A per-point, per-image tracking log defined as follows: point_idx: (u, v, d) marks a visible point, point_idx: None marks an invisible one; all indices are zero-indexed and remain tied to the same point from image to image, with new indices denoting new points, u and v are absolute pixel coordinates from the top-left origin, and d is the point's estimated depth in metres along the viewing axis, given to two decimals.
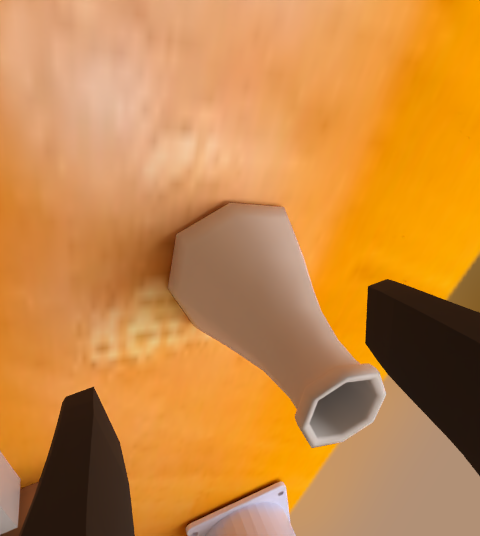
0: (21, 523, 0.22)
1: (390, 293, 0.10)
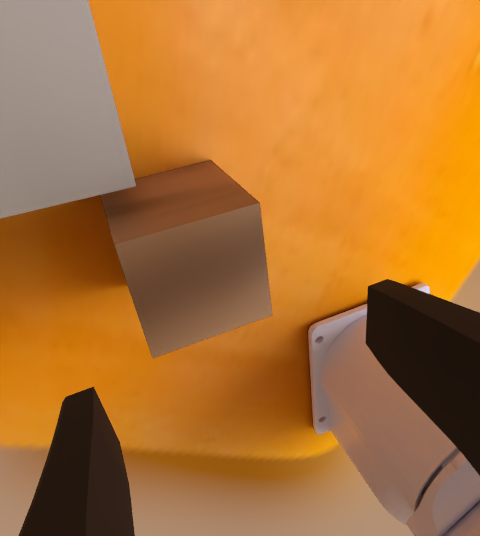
0: (135, 199, 0.15)
1: (390, 293, 0.10)
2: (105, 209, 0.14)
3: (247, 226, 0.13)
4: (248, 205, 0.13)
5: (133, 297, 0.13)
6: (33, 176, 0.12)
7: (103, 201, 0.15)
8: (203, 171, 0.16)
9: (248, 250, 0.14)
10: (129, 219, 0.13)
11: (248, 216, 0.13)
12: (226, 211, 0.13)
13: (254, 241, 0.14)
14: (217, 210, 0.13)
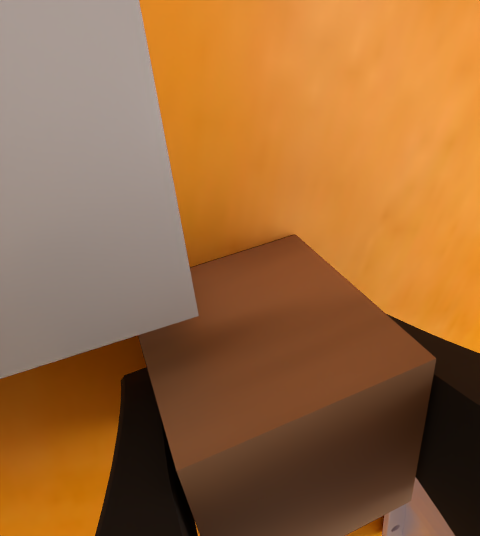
0: (193, 326, 0.09)
1: None
2: (144, 348, 0.08)
3: (408, 396, 0.07)
4: (416, 364, 0.07)
5: (203, 535, 0.07)
6: (13, 320, 0.06)
7: None
8: (293, 261, 0.10)
9: (400, 428, 0.08)
10: (193, 384, 0.07)
11: (413, 381, 0.07)
12: (380, 378, 0.07)
13: (412, 414, 0.08)
14: (358, 373, 0.07)
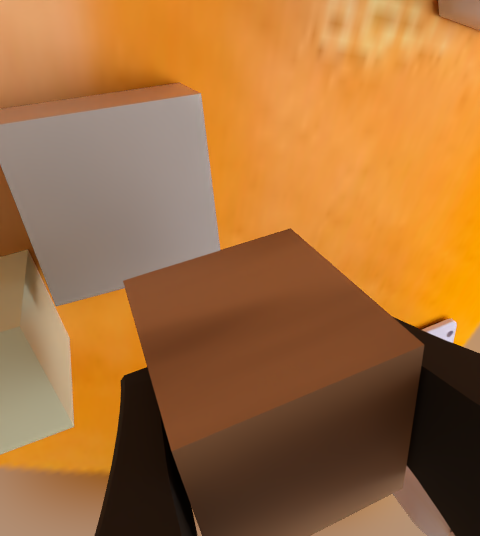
0: (189, 315, 0.09)
1: None
2: (141, 337, 0.08)
3: (397, 382, 0.07)
4: (405, 350, 0.07)
5: (198, 516, 0.07)
6: (142, 258, 0.15)
7: (135, 315, 0.09)
8: (288, 254, 0.10)
9: (390, 414, 0.08)
10: (187, 370, 0.07)
11: (402, 367, 0.07)
12: (369, 364, 0.07)
13: (402, 401, 0.08)
14: (348, 359, 0.07)
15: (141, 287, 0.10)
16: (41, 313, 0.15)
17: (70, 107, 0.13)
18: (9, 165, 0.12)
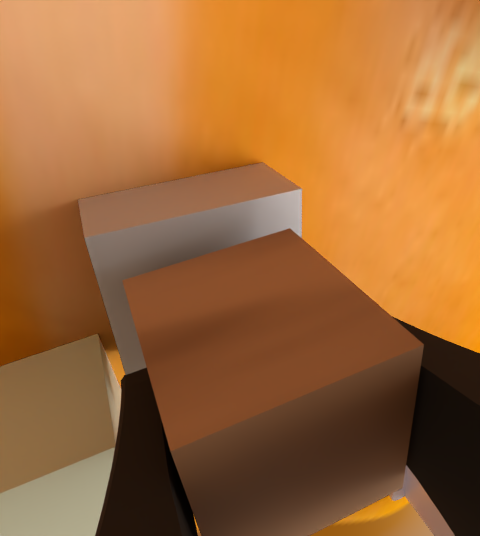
0: (188, 315, 0.09)
1: None
2: (140, 337, 0.08)
3: (396, 382, 0.07)
4: (404, 350, 0.07)
5: (197, 516, 0.07)
6: None
7: (134, 315, 0.09)
8: (287, 254, 0.10)
9: (389, 414, 0.08)
10: (187, 370, 0.07)
11: (402, 367, 0.07)
12: (368, 364, 0.07)
13: (402, 400, 0.08)
14: (347, 359, 0.07)
15: (140, 287, 0.10)
16: (118, 407, 0.14)
17: (164, 204, 0.12)
18: (103, 273, 0.11)
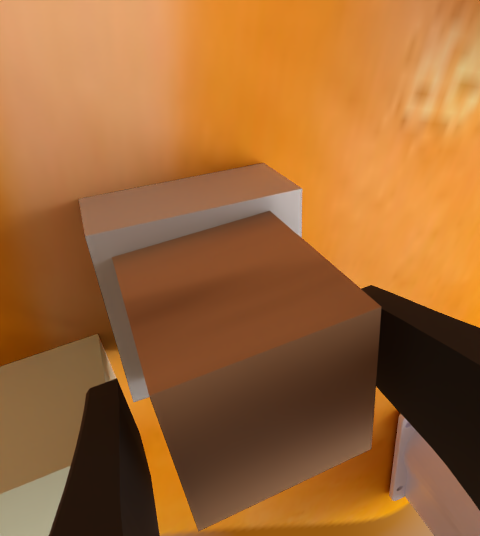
0: (171, 286, 0.09)
1: None
2: (126, 304, 0.09)
3: (358, 341, 0.08)
4: (364, 311, 0.08)
5: (176, 462, 0.08)
6: None
7: (122, 286, 0.10)
8: (265, 233, 0.11)
9: (353, 373, 0.09)
10: (167, 331, 0.08)
11: (362, 327, 0.08)
12: (330, 323, 0.08)
13: (364, 360, 0.09)
14: (312, 319, 0.08)
15: (128, 263, 0.11)
16: None
17: (164, 203, 0.12)
18: (104, 271, 0.11)
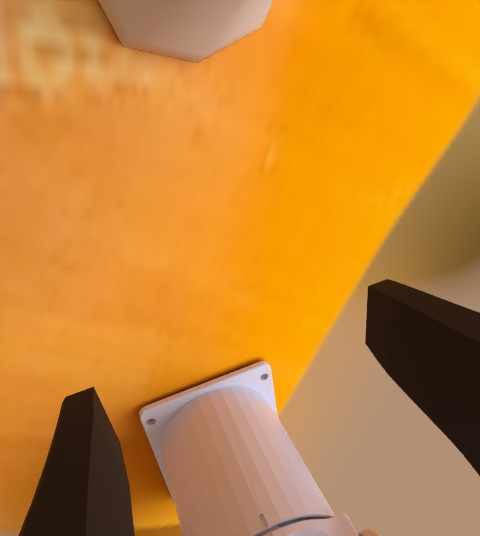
0: None
1: (390, 293, 0.10)
2: None
3: None
4: None
5: None
6: None
7: None
8: None
9: None
10: None
11: None
12: None
13: None
14: None
15: None
16: None
17: None
18: None
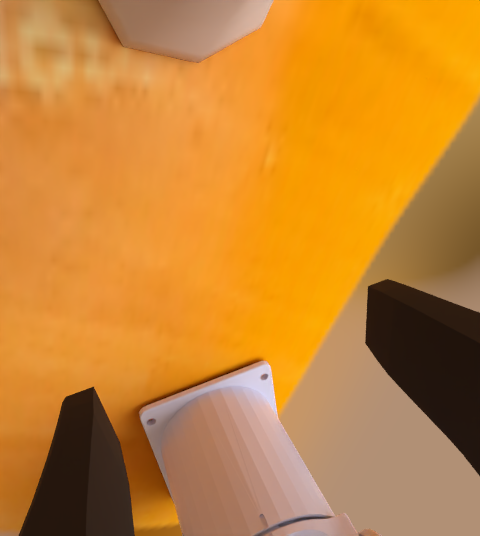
0: None
1: (390, 293, 0.10)
2: None
3: None
4: None
5: None
6: None
7: None
8: None
9: None
10: None
11: None
12: None
13: None
14: None
15: None
16: None
17: None
18: None
